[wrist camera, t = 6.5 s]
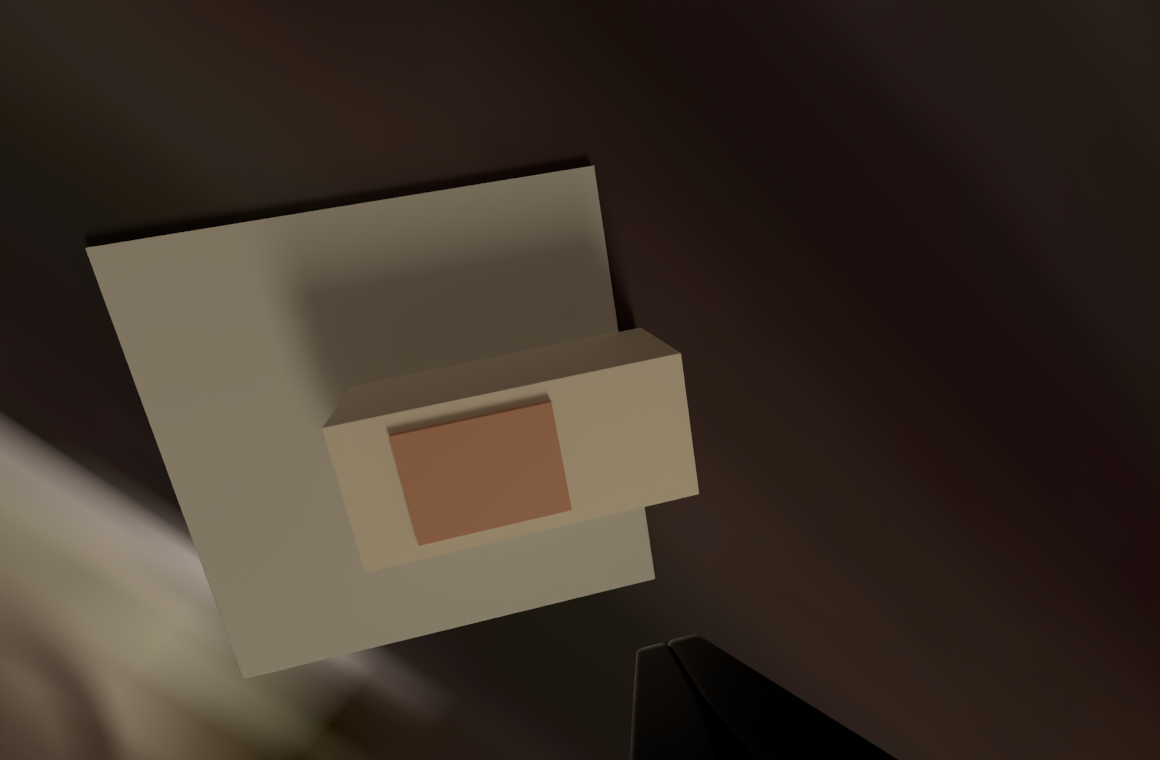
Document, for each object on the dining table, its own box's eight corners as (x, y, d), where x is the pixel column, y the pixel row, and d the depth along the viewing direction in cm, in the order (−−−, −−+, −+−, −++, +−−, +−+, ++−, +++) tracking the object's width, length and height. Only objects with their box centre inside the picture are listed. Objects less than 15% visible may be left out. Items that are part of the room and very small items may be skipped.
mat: (592, 166, 19) (593, 165, 19) (652, 574, 23) (655, 578, 22) (92, 247, 17) (85, 247, 17) (247, 672, 21) (243, 679, 21)
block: (683, 355, 16) (320, 430, 15) (701, 497, 17) (363, 577, 16) (640, 327, 20) (351, 386, 19) (657, 443, 21) (385, 505, 20)
